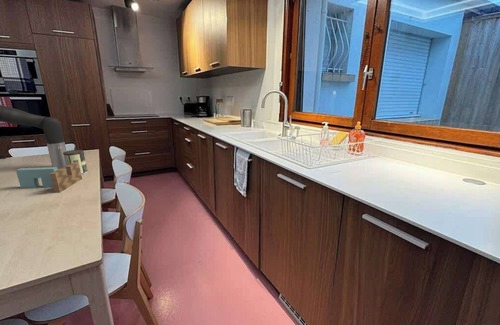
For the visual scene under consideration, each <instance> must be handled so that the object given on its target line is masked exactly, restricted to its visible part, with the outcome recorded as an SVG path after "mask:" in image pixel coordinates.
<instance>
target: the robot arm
mask: <svg viewBox="0 0 500 325" xmlns="http://www.w3.org/2000/svg"><path fill="white" fill-rule="evenodd" d="M0 122H1V123H6V124H12V125H13V124H14V125H19V126H20V125H21V126H30V127H34V128H39V129H42V130H43V134H44V138H45V139H44V140H45V143H46V146H47V151H48V155H49V158H50V163H51V167H57V168H58V170H59V169H66V163H65V159H64V154H63V152H66V151H67V148H66V143H65V137H64V136H65V135H64V132H63V126H62V124H61V122H60V121H59V120H58V119H57V118H55V117H52V116H51V117H50V116H44V115H43V116H42V115H39V114H38V115H37V114H33V113H29V112H27V111H24V110H20V109H17V108H14V107H11V106H5V105H2V104H0ZM5 159H7V156H6V155H5V154H0V160H5Z"/></svg>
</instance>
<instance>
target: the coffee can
mask: <svg viewBox="0 0 500 325" xmlns="http://www.w3.org/2000/svg"><path fill="white" fill-rule="evenodd" d="M63 154H64V159H65V163H66V166H68V165H70V164H72V163H76V162H79V166H80V171H81V175H82V176H83V175H86V174H87V173H88V167H87V161H86V157H85V156H86V155H85V152H84V150H83V149H70V150H66V152H63Z"/></svg>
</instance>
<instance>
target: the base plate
mask: <svg viewBox="0 0 500 325" xmlns="http://www.w3.org/2000/svg"><path fill="white" fill-rule="evenodd" d="M50 176H51V180H52V184H53V187H52V188H53V192H54V193H62V192H63V191H65V190H66V189H68V188H70V187H71V186H73V185H74V184H76V183H78V182H80V181H81V180H83V175H81V171H80V166H79V162H76V163H72V164H70V165H68V166H66V168H65V169H58V170H57V171H55V172H53V173H50Z"/></svg>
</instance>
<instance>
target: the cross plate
mask: <svg viewBox="0 0 500 325" xmlns="http://www.w3.org/2000/svg"><path fill="white" fill-rule="evenodd" d="M57 170H59V169H58V168H57V167H52V166H48V167H28V168H27V167H25V168H24V167H22V168H18V169H16V170H15V172H16V175H17V179H18V183H19V186H20V189H29V188H31V189H33V188H34V189H35V188H37V187H40V186H41V184H42V188H53V184H52V180H51V176H50V173H53V172H55V171H57ZM39 179H40V180H41V184H40V181H39Z"/></svg>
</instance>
